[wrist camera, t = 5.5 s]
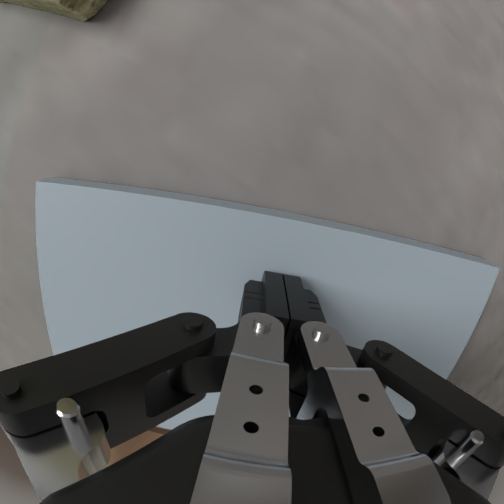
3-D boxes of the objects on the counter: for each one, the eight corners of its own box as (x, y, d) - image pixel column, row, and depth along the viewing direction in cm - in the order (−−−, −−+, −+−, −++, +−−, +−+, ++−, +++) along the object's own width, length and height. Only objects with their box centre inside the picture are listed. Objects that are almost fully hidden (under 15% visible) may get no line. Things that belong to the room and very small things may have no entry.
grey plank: (484, 259, 13) (499, 268, 12) (396, 428, 18) (401, 442, 16) (53, 177, 12) (36, 181, 11) (73, 382, 17) (64, 395, 15)
